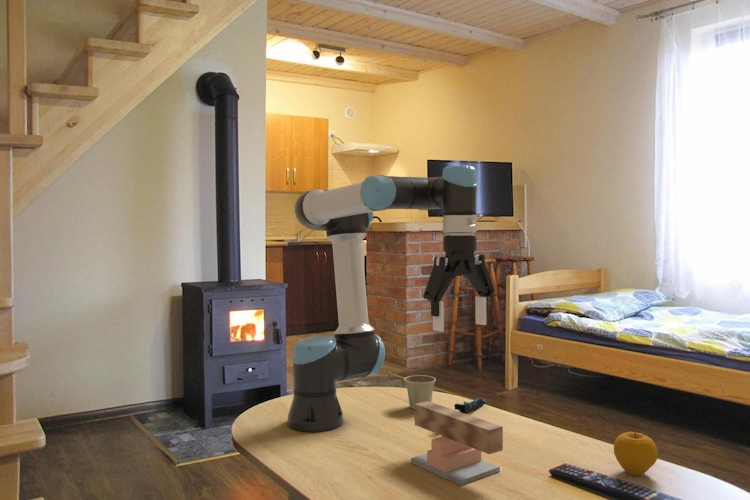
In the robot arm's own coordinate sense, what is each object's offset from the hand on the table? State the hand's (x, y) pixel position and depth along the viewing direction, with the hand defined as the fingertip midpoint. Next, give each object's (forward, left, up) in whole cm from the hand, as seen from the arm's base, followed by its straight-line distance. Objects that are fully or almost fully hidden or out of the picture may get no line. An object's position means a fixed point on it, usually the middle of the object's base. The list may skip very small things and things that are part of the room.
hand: (460, 327), depth 144 cm
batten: (+3, -4, -24) cm, 24 cm away
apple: (+29, +24, -31) cm, 49 cm away
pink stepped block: (+2, -4, -31) cm, 31 cm away
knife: (-22, +24, -31) cm, 45 cm away
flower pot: (-37, +20, -31) cm, 52 cm away
